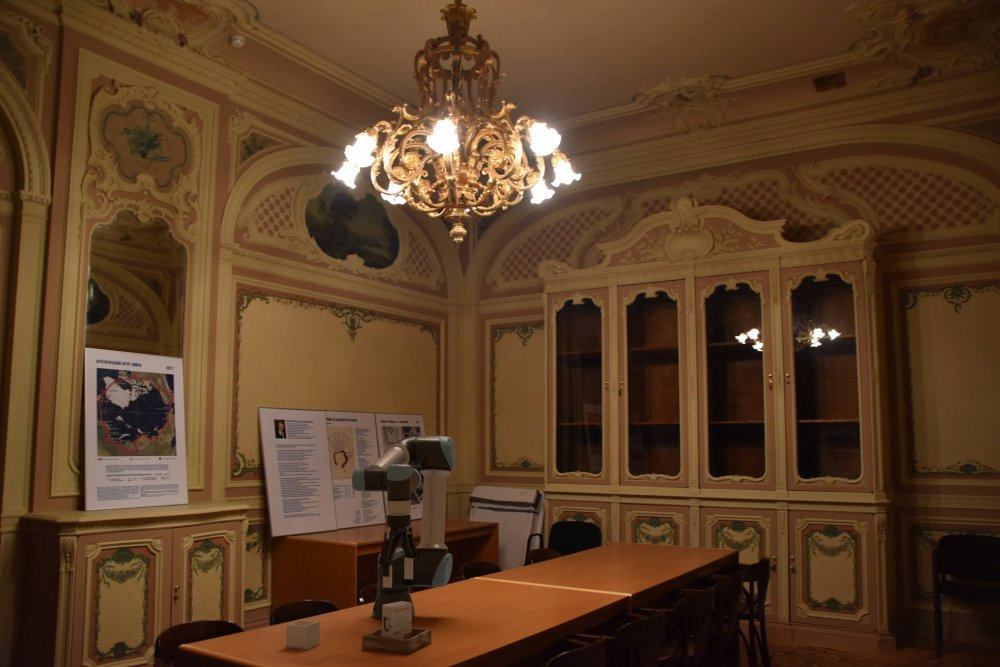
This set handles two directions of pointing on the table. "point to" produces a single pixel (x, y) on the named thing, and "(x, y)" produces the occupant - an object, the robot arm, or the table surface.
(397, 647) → the crate
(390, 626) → the ink box
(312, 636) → the small grey bin
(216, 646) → the table surface
